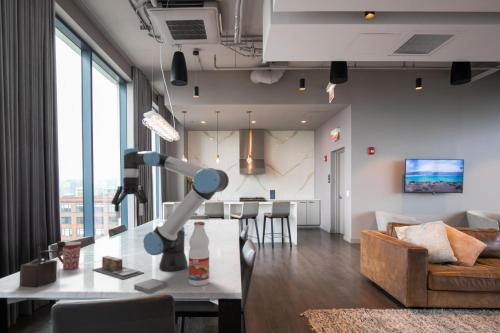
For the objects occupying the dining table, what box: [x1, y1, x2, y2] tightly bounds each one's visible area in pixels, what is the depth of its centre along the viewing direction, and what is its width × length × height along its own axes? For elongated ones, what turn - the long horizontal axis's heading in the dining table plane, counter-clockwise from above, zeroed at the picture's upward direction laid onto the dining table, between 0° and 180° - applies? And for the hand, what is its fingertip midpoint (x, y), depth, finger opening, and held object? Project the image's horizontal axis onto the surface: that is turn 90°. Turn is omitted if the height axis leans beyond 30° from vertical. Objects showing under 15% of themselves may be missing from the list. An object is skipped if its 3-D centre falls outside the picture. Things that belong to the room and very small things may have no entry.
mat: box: [92, 266, 145, 281], centre depth 154 cm, size 12×28×1 cm, turn 56°
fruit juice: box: [188, 221, 210, 287], centre depth 137 cm, size 9×9×28 cm
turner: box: [101, 255, 139, 277], centre depth 154 cm, size 24×8×6 cm, turn 56°
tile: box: [133, 278, 168, 294], centre depth 131 cm, size 10×2×10 cm
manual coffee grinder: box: [18, 240, 67, 288], centre depth 140 cm, size 16×11×18 cm
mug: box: [55, 241, 82, 271], centre depth 162 cm, size 13×9×14 cm
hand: (130, 216), depth 157 cm, fingers open, 13 cm apart
